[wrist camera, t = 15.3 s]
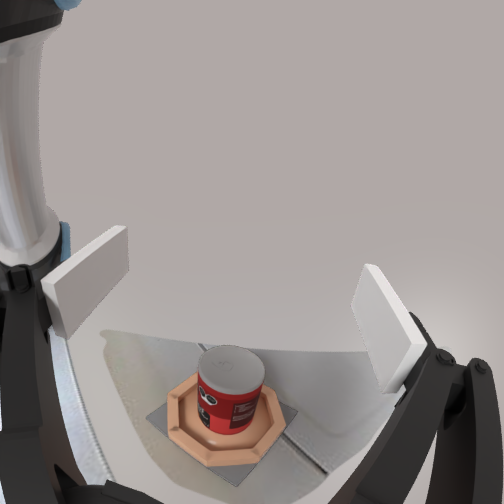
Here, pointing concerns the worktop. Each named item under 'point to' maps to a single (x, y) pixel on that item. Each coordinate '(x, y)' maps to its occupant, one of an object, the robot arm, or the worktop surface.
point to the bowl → (217, 445)
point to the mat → (228, 473)
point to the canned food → (228, 388)
